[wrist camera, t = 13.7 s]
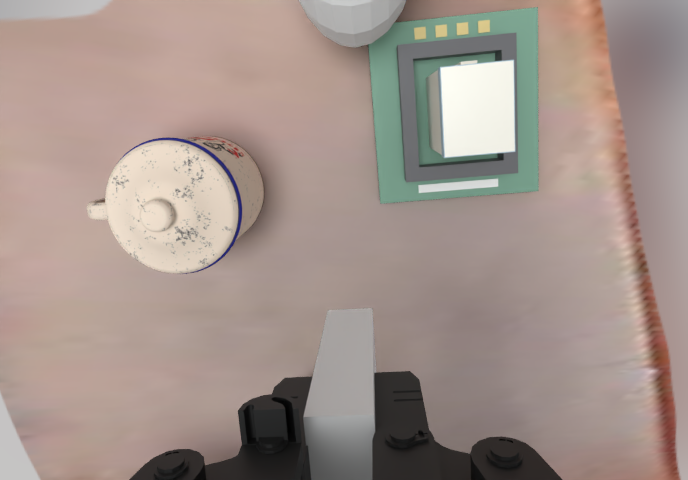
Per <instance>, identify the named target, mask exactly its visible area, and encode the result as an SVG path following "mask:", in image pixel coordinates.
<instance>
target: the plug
mask: <svg viewBox="0 0 688 480" xmlns="http://www.w3.org/2000/svg"><path fill="white" fill-rule="evenodd" d="M426 92H427V111H428V130H429V147H430V148H431V149H433V150H434V151H436V152H438V153H439V154H441V155H442V157H443V158H450V157H462V156H473V155H485V154H497V153H508V152H515V87H514V60H505V61H495V62H485V63H477V60H474V61H464V62H459V63H458V64H456V65H454V66H445V67H439V68H438V70H437V71H435V72H434V73H433V74H431V75H430V76H428V77H427V78H426Z"/></svg>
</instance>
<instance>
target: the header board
mask: <svg viewBox="0 0 688 480" xmlns="http://www.w3.org/2000/svg"><path fill="white" fill-rule="evenodd" d="M368 47H369V60H370V73H371V86H372V99H373V113H374V126H375V139H376V152H377V165H378V178H379V191H380V204H382V203H395V202H407V201H420V200H432V199H444V198H457V197H469V196H482V195H494V194H507V193H519V192H531V191H538V7H535V8H526V9H517V10H507V11H498V12H489V13H480V14H470V15H461V16H452V17H443V18H433V19H424V20H415V21H406V22H396V23H393V25H392V26H391V28H390V29H389V30H388V32H386V33H385V34H384V35H382V36H381V37H380V38H378V39H377V40H376V41H374V42H373V43H371V44H368ZM474 60H477V63H485V62H495V61H505V60H514V87H515V152H508V153H497V154H485V155H473V156H462V157H450V158H443V157H442V155H441V154H439V153H438V152H436V151H434V150H433V149H431V148H430V147H429V130H428V111H427V92H426V78H427V77H428V76H430V75H431V74H433V73H434V72H435V71H437V70H438V68H439V67H445V66H454V65H456V64H458V63H459V62H464V61H474Z"/></svg>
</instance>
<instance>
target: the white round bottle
mask: <svg viewBox="0 0 688 480" xmlns="http://www.w3.org/2000/svg"><path fill="white" fill-rule="evenodd" d="M299 2H300V4H301V6H302V8H303V9H304V11H305V13H306V15H307V17H308V18H309V19H310V21H311V22H312V23H313V24H314V25H315V26H316V27H317V29H318V30H319V31H320V32H321V33H322V34H323V35H324V36H325V37H327V38H329V39H330V40H332V41H334V42H336V43H337V44H339V45H342V46H349V47H356V48H357V47H360V46H364V45H367V44H371V43H373V42H374V41H376V40H377V39H378V38H380V37H381V36H382V35H384V34H385V33H386V32H388V30H389V29H390V28H391V26H392V25H393V23H394V22H395V21H396V19H397V18H398V16H399V15H400V14H401V12H402V11H403V8H404V5H405V3H406V0H299Z"/></svg>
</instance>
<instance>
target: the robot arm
mask: <svg viewBox="0 0 688 480" xmlns="http://www.w3.org/2000/svg"><path fill="white" fill-rule="evenodd" d="M238 416H239V424H240V432H241V440H242V446H241V449H240V451H239V454H238V456H236V457H234V458H231V459H228V460H225V461H222V462H217V463H213V464H209V465H205V464H204V457H203V456H202V455H201V454H200V453H199V452H197V451H194V450H190V449H177V450H173V451H172V450H171V451H168V452H165V453H163V454H161V455H159V456H156V457H154V458H153V459H152V460H150V461H149V462H148V463H146V464H145V465H144V466H143V467H142V468H141V469H140V470H139V471H138V472H137V473H136V474H135V475H134V476H133V477H132V478H131V479H130V480H562V479H561V478H560V477H559V476H558V475H557V473H556V472H555V471H554V470H553V469H552V468H551V467H550V466H549V465H548V464H547V463H546V462H545V461H544V459H543V458H542V457H541V456H540V455H539V454H538V453H537V452H536V451H535V450H534V449H533V448H531V447H530V446H529V445H527V444H526V443H524V442H521V441H519V440H516V439H513V438H508V437H489V438H486V439H483V440H480V441H478V442H477V443H476V444H475V445H474V446H473V447H472V450H471V454H468V453H463V452H458V451H454V450H450V449H448V448H446V447H443V446H441V445H440V444H439V443H437V442H436V441H435V440H434V437H433V435H432V433H431V432H430V431H429V428H428V423H427V418H426V412H425V407H424V402H423V397H422V392H421V387H420V382H419V379H418V378H417V377H416V376H414V375H413V374H412V373H411V372H410V371H406V372H382V373H376V358H375V342H374V326H373V309H372V308H362V309H342V310H328V312H327V316H326V321H325V325H324V329H323V334H322V338H321V342H320V347H319V351H318V355H317V360H316V364H315V368H314V373H313V377H295V378H284V379H283V380H282V381H281V382H280V383H279V384H278V385H276V386H275V387H274V390H273V393H272V394H271V395H263V396H260V397H257V398H254V399H251V400H249V401H248V402H246V403H245V404H243V405H242V406H241V408H240V409H239V410H238Z"/></svg>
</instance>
